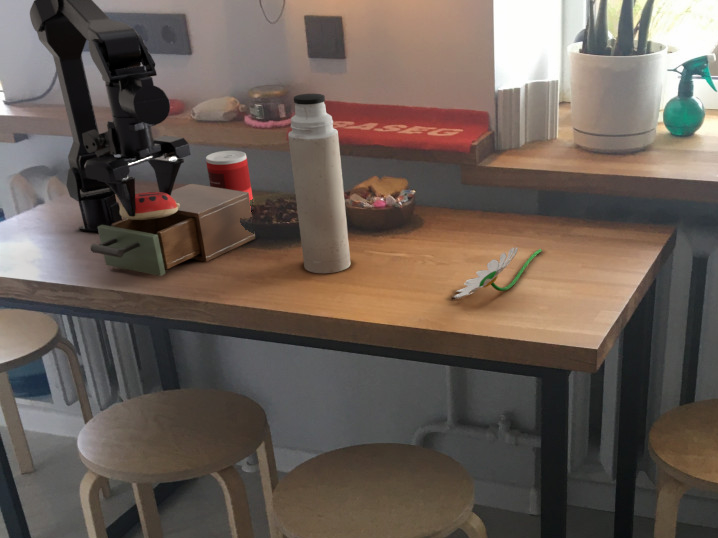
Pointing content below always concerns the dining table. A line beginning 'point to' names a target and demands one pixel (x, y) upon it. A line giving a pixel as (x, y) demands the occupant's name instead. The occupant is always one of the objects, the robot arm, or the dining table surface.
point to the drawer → (149, 243)
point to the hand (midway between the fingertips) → (149, 209)
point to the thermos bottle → (318, 186)
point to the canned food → (229, 171)
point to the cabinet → (215, 217)
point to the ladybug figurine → (152, 206)
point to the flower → (493, 274)
